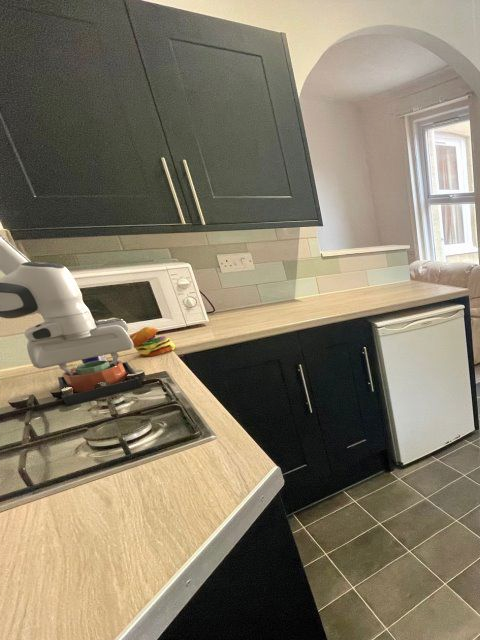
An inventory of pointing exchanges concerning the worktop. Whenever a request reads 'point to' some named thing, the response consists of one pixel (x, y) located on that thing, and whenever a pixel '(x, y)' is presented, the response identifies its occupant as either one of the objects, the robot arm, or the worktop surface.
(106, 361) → the small bowl
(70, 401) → the tray
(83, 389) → the big bowl
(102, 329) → the robot arm
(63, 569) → the worktop surface
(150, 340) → the cheeseburger
